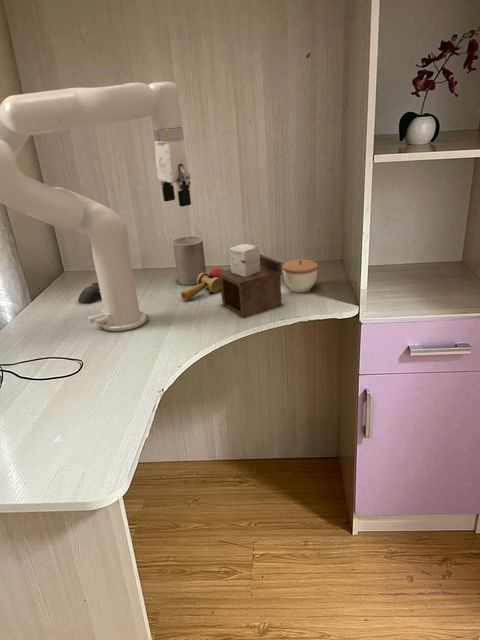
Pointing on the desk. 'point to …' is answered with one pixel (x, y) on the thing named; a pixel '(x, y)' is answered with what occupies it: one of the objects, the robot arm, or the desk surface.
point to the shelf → (252, 288)
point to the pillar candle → (189, 259)
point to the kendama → (204, 284)
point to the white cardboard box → (245, 260)
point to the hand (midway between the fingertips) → (177, 203)
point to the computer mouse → (90, 294)
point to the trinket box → (300, 274)
